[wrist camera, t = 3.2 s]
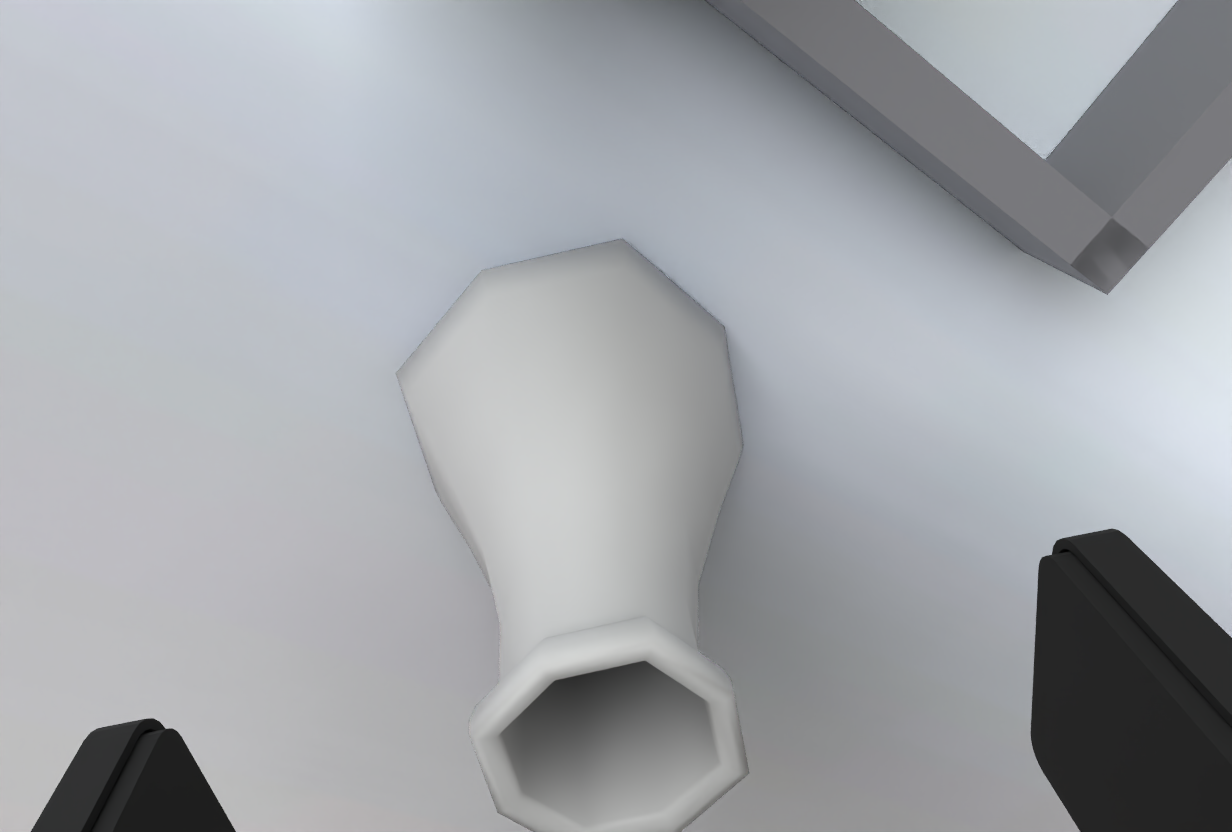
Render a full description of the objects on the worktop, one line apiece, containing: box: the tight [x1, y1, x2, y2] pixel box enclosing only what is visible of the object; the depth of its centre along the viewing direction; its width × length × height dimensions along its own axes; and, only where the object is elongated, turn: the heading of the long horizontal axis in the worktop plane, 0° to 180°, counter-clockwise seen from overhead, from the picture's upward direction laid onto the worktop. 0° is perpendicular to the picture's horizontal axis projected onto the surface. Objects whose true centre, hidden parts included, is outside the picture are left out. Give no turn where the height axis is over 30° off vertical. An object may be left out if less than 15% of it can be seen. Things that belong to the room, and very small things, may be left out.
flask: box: [396, 239, 749, 832], centre depth 15 cm, size 7×7×10 cm
